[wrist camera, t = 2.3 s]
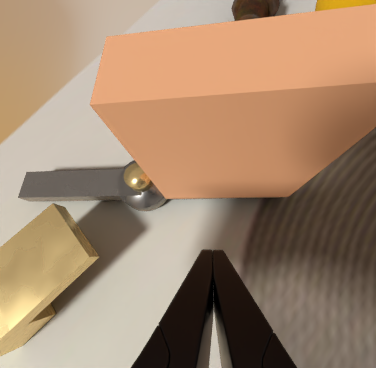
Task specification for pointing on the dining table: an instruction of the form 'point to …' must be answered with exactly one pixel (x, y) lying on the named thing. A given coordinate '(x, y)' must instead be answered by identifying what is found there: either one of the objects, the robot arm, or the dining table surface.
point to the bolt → (254, 9)
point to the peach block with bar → (228, 107)
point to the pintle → (137, 178)
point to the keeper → (38, 273)
